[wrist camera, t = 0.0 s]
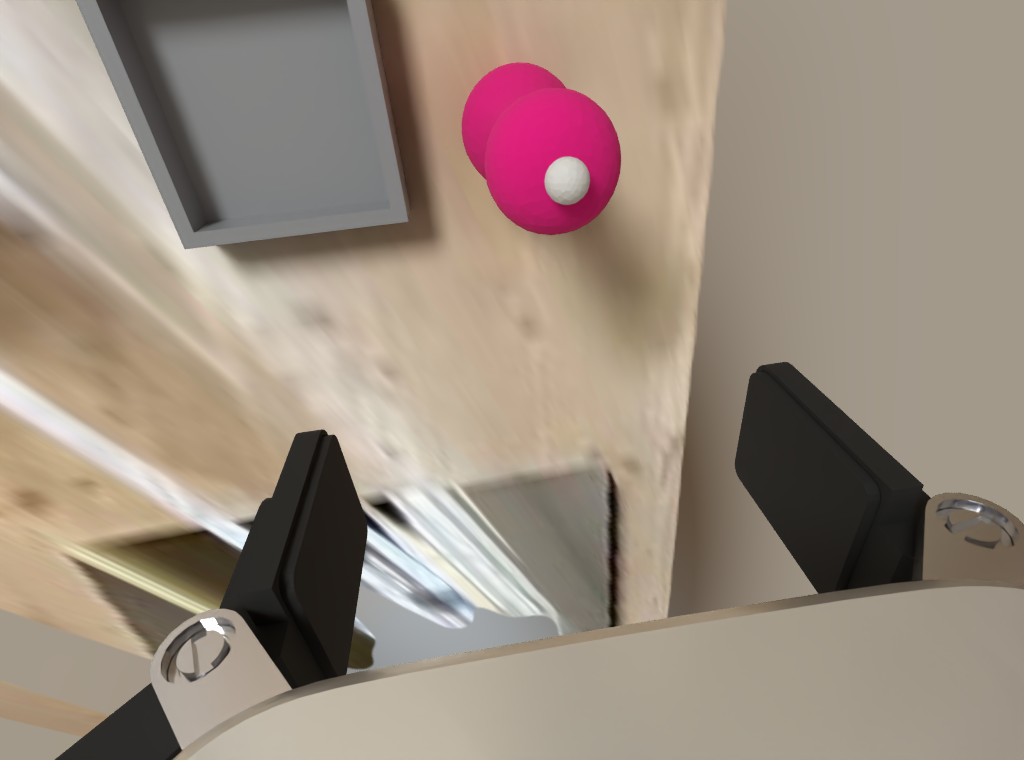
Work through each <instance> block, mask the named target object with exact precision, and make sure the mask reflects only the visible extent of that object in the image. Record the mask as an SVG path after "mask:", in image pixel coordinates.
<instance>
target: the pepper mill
mask: <svg viewBox="0 0 1024 760" xmlns="http://www.w3.org/2000/svg"><path fill="white" fill-rule="evenodd" d="M462 137H463V143H464V146H465V150H466V153H467V155H468V157H469V159H470V161H471V162H472V164H473V165H474V167H475V168H476V170H477V171H478V172H479V173H480V174H481V175H482V176H483V177H484V178H485V179H486V180H487V185H488V188H489V190H490V193H491V195H492V197H493V199H494V201H495V202H496V204H497V206H498V207H499V209H500V210H501V211H502V212H503V213H504V215H505V216H506V217H507V218H509V219H510V220H511V221H512V222H514V223H515V224H516V225H518V226H520V227H522V228H523V229H525V230H527V231H531V232H534V233H538V234H547V235H554V234H561V233H567V232H570V231H574V230H577V229H579V228H581V227H582V226H584V225H586V224H588V223H589V222H590V221H592V220H593V219H594V218H595V217H597V216H598V215H599V214H600V212H601V211H602V210H603V209H604V208H605V206H606V205H607V203H608V202H609V200H610V198H611V197H612V195H613V193H614V190H615V188H616V185H617V182H618V178H619V174H620V167H621V151H620V144H619V140H618V137H617V133H616V131H615V128H614V126H613V124H612V122H611V120H610V119H609V117H608V116H607V114H606V113H605V111H604V110H603V109H602V108H601V107H599V106H598V105H597V104H596V103H595V102H594V101H593V100H591V99H590V98H588V97H587V96H586V95H583V94H581V93H579V92H577V91H574V90H570V89H566V87H565V86H564V85H563V83H562V82H561V81H560V80H559V79H558V78H557V77H555V76H554V75H553V74H552V73H550V72H549V71H548V70H546V69H544V68H542V67H539V66H537V65H533V64H529V63H511V64H506V65H503V66H500V67H498V68H496V69H494V70H493V71H491V72H489V73H488V74H487V75H486V76H484V77H483V78H482V79H481V80H480V81H479V82H478V83H477V85H476V86H475V87H474V89H473V90H472V92H471V93H470V95H469V98H468V100H467V102H466V105H465V108H464V112H463V118H462Z"/></svg>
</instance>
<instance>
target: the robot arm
mask: <svg viewBox="0 0 1024 760" xmlns="http://www.w3.org/2000/svg"><path fill="white" fill-rule="evenodd" d="M735 469H736V473H737V475H738V477H739V479H740V480H741V482H742V483H743V485H744V486H745V488H746V489H747V491H748V492H749V494H750V495H751V496H752V498H753V499H754V501H755V502H756V504H757V505H758V507H759V508H760V509H761V511H762V512H763V514H764V515H765V517H766V518H767V520H768V521H769V523H770V524H771V525H772V527H773V528H774V530H775V531H776V533H777V534H778V536H779V537H780V539H781V540H782V541H783V543H784V544H785V546H786V547H787V549H788V550H789V551H790V553H791V554H792V556H793V557H794V559H795V560H796V562H797V563H798V565H799V566H800V568H801V569H802V570H803V572H804V573H805V575H806V576H807V578H808V579H809V581H810V582H811V584H812V585H813V586H814V588H815V589H816V591H817V592H818V594H814V595H808V596H802V597H796V598H789V599H783V600H777V601H771V602H764V603H758V604H752V605H746V606H739V607H733V608H727V609H721V610H714V611H708V612H702V613H696V614H690V615H684V616H678V617H672V618H666V619H660V620H653V621H647V622H641V623H635V624H629V625H623V626H617V627H611V628H605V629H599V630H593V631H587V632H581V633H575V634H569V635H563V636H557V637H551V638H546V639H540V640H535V641H528V642H522V643H516V644H511V645H505V646H499V647H493V648H487V649H481V650H476V651H470V652H464V653H458V654H453V655H447V656H441V657H435V658H430V659H425V660H419V661H414V662H409V663H403V664H398V665H393V666H387V667H382V668H377V669H372V670H366V671H361V672H356V673H352V674H347V675H346V673H347V667H348V661H349V654H350V647H351V641H352V634H353V627H354V621H355V614H356V607H357V600H358V593H359V587H360V581H361V574H362V567H363V561H364V554H365V547H366V541H367V522H366V518H365V515H364V512H363V509H362V507H361V504H360V501H359V498H358V495H357V493H356V490H355V487H354V484H353V481H352V479H351V476H350V473H349V470H348V467H347V465H346V462H345V459H344V456H343V453H342V451H341V448H340V445H339V442H338V439H337V437H336V436H335V435H328V434H327V432H326V431H325V430H316V431H309V432H302V433H298V434H296V436H295V437H294V440H293V443H292V446H291V448H290V451H289V454H288V456H287V459H286V462H285V464H284V467H283V470H282V472H281V475H280V478H279V480H278V483H277V486H276V488H275V491H274V494H273V496H272V498H266V499H265V500H264V501H262V503H261V505H260V507H259V509H258V512H257V514H256V517H255V519H254V522H253V524H252V527H251V529H250V532H249V534H248V537H247V539H246V542H245V545H244V547H243V550H242V552H241V555H240V557H239V560H238V562H237V565H236V567H235V570H234V573H233V575H232V578H231V580H230V583H229V585H228V588H227V590H226V593H225V595H224V598H223V601H222V603H221V606H220V608H219V609H213V610H209V611H206V612H203V613H200V614H198V615H196V616H194V617H192V618H190V619H189V620H187V621H185V622H184V623H182V624H181V625H180V626H179V627H177V628H176V629H175V630H174V631H173V632H171V633H170V634H169V636H168V637H167V638H166V639H165V640H164V641H163V643H162V644H161V645H160V646H159V648H158V650H157V652H156V654H155V656H154V657H153V659H152V664H151V668H150V678H151V683H150V684H149V685H148V686H146V687H145V688H144V689H143V690H142V691H140V692H139V693H138V694H136V695H135V696H134V697H133V698H131V699H130V700H129V701H128V702H126V703H125V704H124V705H123V706H121V707H120V708H119V709H118V710H116V711H115V712H114V713H113V714H111V715H110V716H109V717H108V718H106V719H105V720H104V721H103V722H101V723H100V724H99V725H98V726H96V727H95V728H94V729H93V730H91V731H90V732H89V733H88V734H86V735H85V736H84V737H83V738H81V739H80V740H79V741H78V742H76V743H75V744H74V745H73V746H71V747H70V748H69V749H68V750H66V751H65V752H64V753H63V754H61V755H60V756H59V757H58V758H56V759H55V760H1024V524H1023V523H1022V522H1021V521H1020V520H1019V519H1018V518H1017V517H1016V516H1014V515H1013V514H1011V513H1010V512H1009V511H1007V510H1006V509H1004V508H1002V507H1001V506H999V505H997V504H995V503H993V502H991V501H988V500H985V499H982V498H979V497H977V496H973V495H968V494H962V493H943V494H939V495H935V496H934V497H932V498H930V497H929V496H928V495H927V494H926V493H925V492H924V491H923V490H922V488H923V484H922V483H921V482H919V481H918V480H917V479H916V478H915V477H914V476H913V475H912V474H911V473H910V472H909V471H907V470H906V469H905V468H904V467H903V466H902V465H901V464H900V463H899V462H897V460H895V459H894V458H893V457H892V456H891V455H890V454H889V453H888V452H887V451H886V450H884V449H883V448H882V447H881V446H880V445H879V444H878V443H877V442H876V441H875V440H874V439H872V438H871V437H870V436H869V435H868V434H867V433H866V432H865V431H863V429H861V428H860V427H859V426H858V425H857V424H856V423H855V422H854V421H853V420H852V419H850V418H849V417H848V416H847V415H846V414H845V413H844V412H843V411H842V410H841V409H840V408H838V407H837V406H836V405H835V404H834V403H833V402H832V401H831V400H829V399H828V398H827V397H826V396H825V395H824V394H823V393H822V392H821V391H820V390H819V389H818V388H816V387H815V386H814V385H813V384H812V383H811V382H810V381H809V380H808V379H806V378H805V377H804V376H803V375H802V374H801V373H800V372H799V371H798V370H797V369H796V368H795V367H793V366H792V365H791V364H789V363H788V362H782V363H775V364H768V365H762V366H760V367H759V368H758V369H757V371H756V373H753V374H752V375H751V376H750V379H749V384H748V390H747V396H746V402H745V407H744V413H743V419H742V424H741V431H740V436H739V441H738V447H737V453H736V459H735Z"/></svg>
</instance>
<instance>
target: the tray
mask: <svg viewBox="0 0 1024 760" xmlns="http://www.w3.org/2000/svg"><path fill="white" fill-rule="evenodd" d="M76 2H77V4H78V7H79V9H80V11H81V14H82V16H83V18H84V20H85V23H86V25H87V27H88V30H89V32H90V34H91V36H92V39H93V41H94V43H95V46H96V48H97V50H98V52H99V55H100V57H101V59H102V62H103V64H104V66H105V68H106V71H107V73H108V75H109V77H110V80H111V82H112V84H113V87H114V89H115V91H116V93H117V96H118V98H119V100H120V103H121V105H122V107H123V109H124V112H125V114H126V116H127V119H128V121H129V123H130V125H131V128H132V130H133V132H134V135H135V137H136V139H137V141H138V144H139V146H140V148H141V150H142V153H143V155H144V157H145V160H146V162H147V164H148V166H149V169H150V171H151V173H152V176H153V178H154V180H155V182H156V185H157V187H158V189H159V192H160V194H161V196H162V198H163V201H164V203H165V205H166V208H167V210H168V212H169V214H170V217H171V219H172V221H173V223H174V226H175V228H176V230H177V233H178V235H179V237H180V239H181V242H182V244H183V246H184V249H191V248H199V247H207V246H215V245H223V244H231V243H239V242H248V241H256V240H264V239H272V238H280V237H288V236H296V235H305V234H313V233H321V232H329V231H337V230H345V229H353V228H362V227H370V226H378V225H386V224H394V223H402V222H409V216H410V211H411V206H410V201H409V196H408V191H407V185H406V180H405V175H404V170H403V165H402V159H401V154H400V149H399V144H398V138H397V133H396V128H395V123H394V117H393V112H392V107H391V102H390V97H389V91H388V86H387V81H386V76H385V70H384V65H383V60H382V55H381V50H380V44H379V39H378V34H377V29H376V23H375V18H374V13H373V8H372V2H371V0H76Z"/></svg>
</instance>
